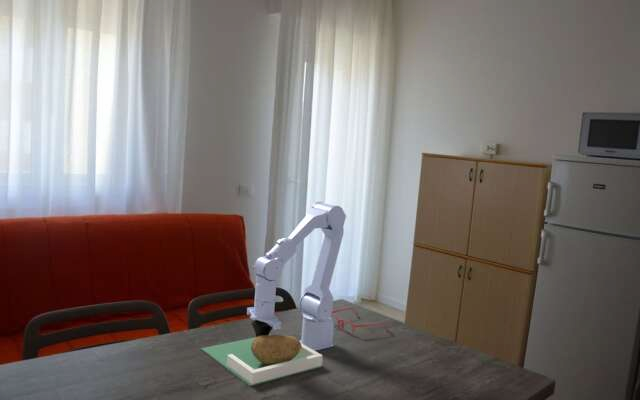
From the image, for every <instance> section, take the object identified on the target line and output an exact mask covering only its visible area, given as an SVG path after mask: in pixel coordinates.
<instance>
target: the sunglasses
mask: <svg viewBox="0 0 640 400" xmlns="http://www.w3.org/2000/svg"><path fill="white" fill-rule="evenodd" d="M346 310H352V311H353V312H354V313H355V315H356V318H358V319H359V318H360V316H359V314H358V313H357V310H355V309H354V308H351V307H346V308H342V309H341V308H340V309H336V310H332V314H331V315H333V316H334V317H335V318H336V320H337V325H336V326H334V328H335V329H337V328H338V327H339V325H340V324H341V328H342V331H343V333H345V334H347V331H346V330H345V323H344V322H347V323H349V324H350V325H351V328H352V331H351V333H350V334H348V335H349V336H351V335H353V334H354V331H355V328H361V327H363V328H364V327H368V326H369V327H370V326H378V325H384V326H385V331H386V332H387V331H388V325H387V324H386V323H384V322H380V323H368V324H363V323H362V324H354V323H353V322H351V321H349V320H348V319H341V318H339V317H338V316H337V315H336V314H335V313H337V312H342V311H346Z"/></svg>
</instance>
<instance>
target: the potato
mask: <svg viewBox="0 0 640 400" xmlns="http://www.w3.org/2000/svg"><path fill="white" fill-rule="evenodd" d="M255 337H256V336H255ZM255 337H254V338H255ZM301 347H302V346H301V343H300V339H298V338H297V337H295V336H292V335H281V334H270V335H263V336H258V337H256V338H255V339H254V340H253V342H252V345H251V351H252V353H253V355H254V357H255V358H256V359H257V360H258V361H260V362H261V363H263V364H266V365H275V364H279V363H283V362H287V361H290V360H292V359H293V358H294V357H296V356H297V355H298V353H299V351H300V349H301Z"/></svg>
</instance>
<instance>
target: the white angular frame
mask: <svg viewBox="0 0 640 400" xmlns="http://www.w3.org/2000/svg"><path fill="white" fill-rule="evenodd" d="M301 346H302V347H301V349H300V351H299V353H298V355H299V356H300V357H302V358H299V359H295V360H291V361H287V362H283V363H279V364H275V365H271V366H267V367H263V368H259V369H255V370H254V369H253V368H252V367H250V366H249V365H247V364H246V363H244V362H243V361H242V360H240V359H239V358H237V357H236V356H234V355H233V354H229V355H227V366H228V367H229V368H230V369H232V370H233V371H234V372H236V373H237V374H238V375H240V376H241V377H242V378H244V379H245V380H247V381H248V382H249V383H251V384H255V383H259V382H263V381H267V380H270V379H274V378H278V377H281V376H285V375H289V374H293V373H296V372H300V371H304V370H307V369H311V368H315V367H319V366H322V365H323V356H324V355H323V354H321V353H319V352H318V351H317V350H316V351H314V350H312V349H310V348H309V347H307V346H305V345H303V344H302V343H301Z"/></svg>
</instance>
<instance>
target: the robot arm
mask: <svg viewBox="0 0 640 400" xmlns="http://www.w3.org/2000/svg"><path fill="white" fill-rule="evenodd" d="M346 218H347V215H346V213H345V211H344V209H343V208H342V207H341V206H340V205H334V204H328V203H323V202H322V201H316V202H314V203H313V204H312V205H311V207H309V208H308V209H307V211H306V215H305V216H304V217H303V219H302V220H301V221H300V223H299V224H298V225H297V226H296V228H295V229H294V230H293V231H292V232H291V233H290V235H289V236H288V237H282V238H278V240H277V241H276V244H275V245H274V246H273V247H272V248H271V249H270V250H268V252H266V253H265V255H263V256H260V257H258V258H257V259H256V261H254V264H253V266H252V271H253V273H254V276H255V277H254V278H255V279H254V280H255V287H254V288H255V290H254V291H255V292H254V302H253V303H254V305H253V306H250V307H247V308H246V314H247V315H248V316H250V317H249V319H251V320H253V321H251V326H252V328H253V331H254V332H255V337H258V336H263V335H269V334H270V333H271V331H272V330H274V331H277V330H281V329H282V321H280V320H279V319H278V317H277V316H276V315H275V307H276V306H275V304H276V292H277V279H278V278H280V276H281V275H282V272H283V269H284V268H285V267H284V266H285V265H286V264H287V263H288V261H290V260H291V258H292V257H293V256H294V255H295V254H296V253H297V252H298V251H297V246H298V245H299V244H300V243H301V242H302V241H303V240H305V239H306V237H308V236H309V235H310V234H311V233H312V232H313V231H314V230H316V229H321V231H322V233H323V234H324V237H323V240H322V244H321V249H320V252H319V255H318V260H317V262H316V266H315V271H314V274H313V278H312V281H311V284H310V285H308V286H307V287H306V288H304V292H303V294H302V295H301V297H300V299H299V301H298V308H299V310H300V311H301V315H302V325H301V326H302V328H301V337H300V338H301V339H299V341H300V343H302V344H303V345H305V346H307V347H309V348H310V349H312V350H314V351H316V352H317V351H320V350H325V349H327V348H332V347H334V346H335V344H333V338H334V328H335V325H334V320H333V319H332V317H331V315H333V314H332V311H334V309H333V301H334V296H333V293H332V292H331V290H330V286H331V282H332V279H333V275H334V272H335V268H336V267H335V266H336V264H337V260H338V256H339V254H340V253H339V252H340V248H341V245H342V240H343V237H344V230H345V229H344V227H345V226H344V225H345V221H346Z"/></svg>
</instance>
